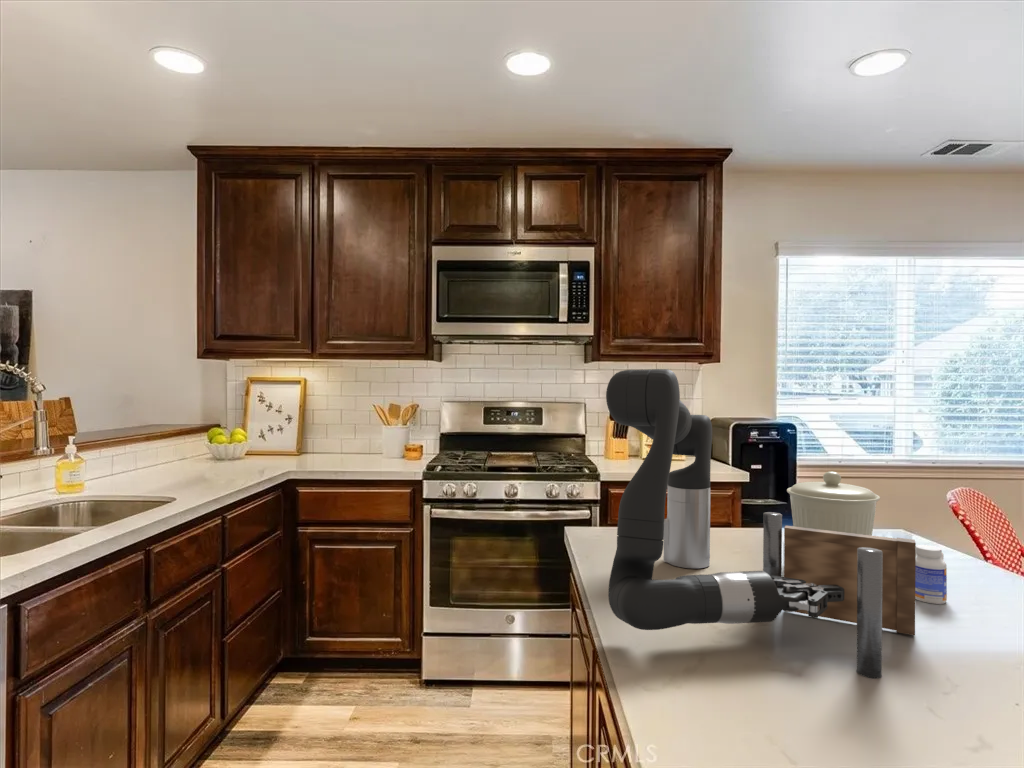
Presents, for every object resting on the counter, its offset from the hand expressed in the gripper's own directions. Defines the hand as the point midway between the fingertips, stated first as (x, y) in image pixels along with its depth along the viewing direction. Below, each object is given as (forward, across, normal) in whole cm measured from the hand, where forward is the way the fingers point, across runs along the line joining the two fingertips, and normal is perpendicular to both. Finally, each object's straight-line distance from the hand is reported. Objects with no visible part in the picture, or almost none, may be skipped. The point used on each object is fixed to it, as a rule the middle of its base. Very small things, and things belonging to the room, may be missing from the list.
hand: (841, 592), depth 95 cm
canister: (+23, +34, +7) cm, 42 cm away
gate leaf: (+5, +5, +6) cm, 9 cm away
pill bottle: (+28, +13, +7) cm, 32 cm away
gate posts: (-4, 0, +7) cm, 8 cm away
